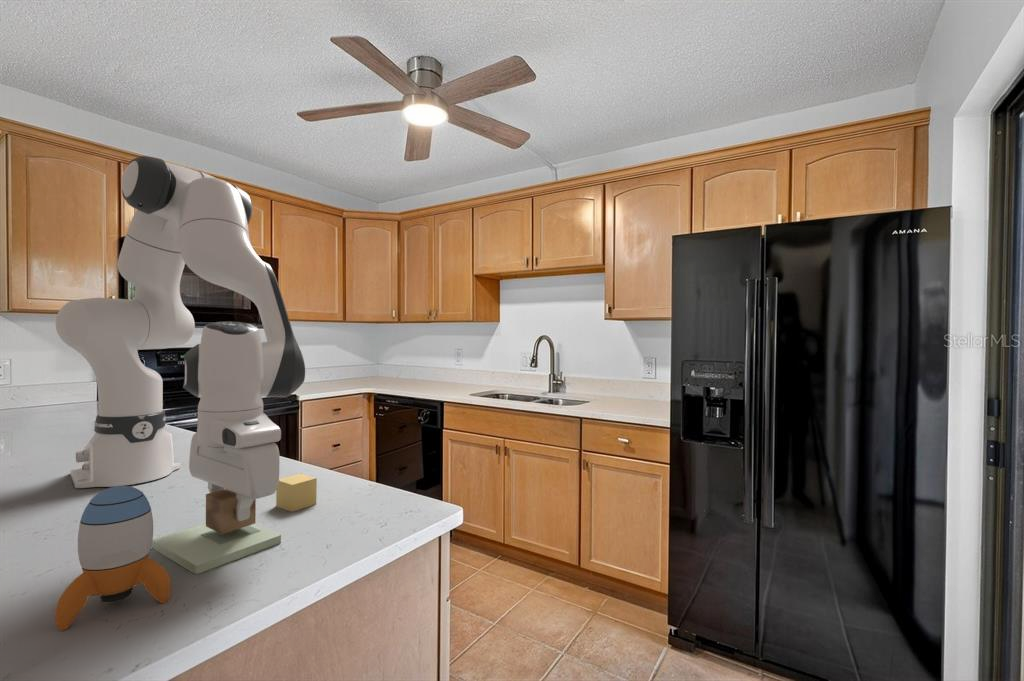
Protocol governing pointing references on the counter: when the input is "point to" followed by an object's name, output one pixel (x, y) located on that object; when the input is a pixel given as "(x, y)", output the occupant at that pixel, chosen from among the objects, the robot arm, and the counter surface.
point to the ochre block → (296, 492)
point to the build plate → (213, 546)
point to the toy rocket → (113, 553)
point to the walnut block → (225, 512)
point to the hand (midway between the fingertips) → (230, 514)
